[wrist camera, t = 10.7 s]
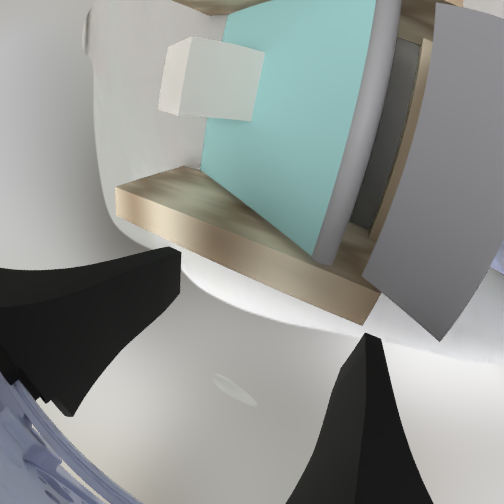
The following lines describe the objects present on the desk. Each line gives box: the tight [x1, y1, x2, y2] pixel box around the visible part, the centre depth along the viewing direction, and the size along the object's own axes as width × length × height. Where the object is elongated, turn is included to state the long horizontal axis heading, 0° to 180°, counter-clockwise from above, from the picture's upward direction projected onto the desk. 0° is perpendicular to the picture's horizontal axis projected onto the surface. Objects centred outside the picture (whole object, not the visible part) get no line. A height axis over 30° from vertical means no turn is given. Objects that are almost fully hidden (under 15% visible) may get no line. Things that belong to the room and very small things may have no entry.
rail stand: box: [115, 0, 463, 325], centre depth 12 cm, size 17×17×7 cm
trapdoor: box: [200, 0, 504, 342], centre depth 11 cm, size 18×12×4 cm, turn 80°
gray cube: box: [158, 36, 265, 122], centre depth 12 cm, size 4×4×4 cm
